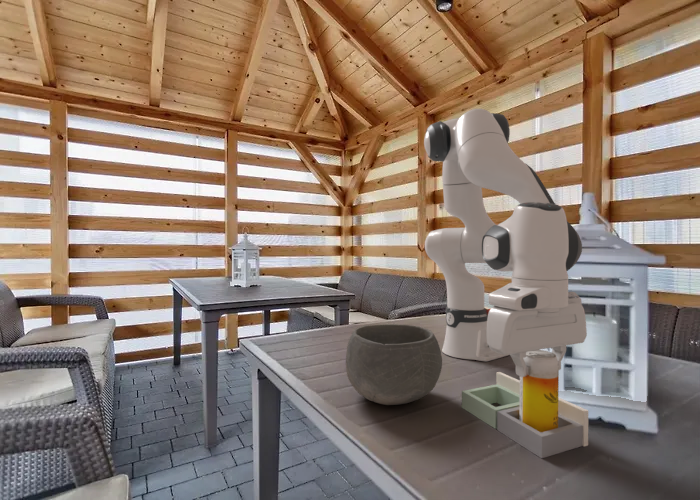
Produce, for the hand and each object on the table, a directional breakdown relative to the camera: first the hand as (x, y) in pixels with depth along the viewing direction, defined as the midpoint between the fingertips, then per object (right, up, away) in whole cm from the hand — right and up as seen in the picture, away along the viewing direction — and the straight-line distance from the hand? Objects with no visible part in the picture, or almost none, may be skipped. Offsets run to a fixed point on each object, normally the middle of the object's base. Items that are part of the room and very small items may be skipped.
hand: (538, 372), depth 65 cm
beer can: (0, -12, 0) cm, 12 cm away
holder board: (-2, -12, +5) cm, 13 cm away
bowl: (-24, -12, +17) cm, 31 cm away
